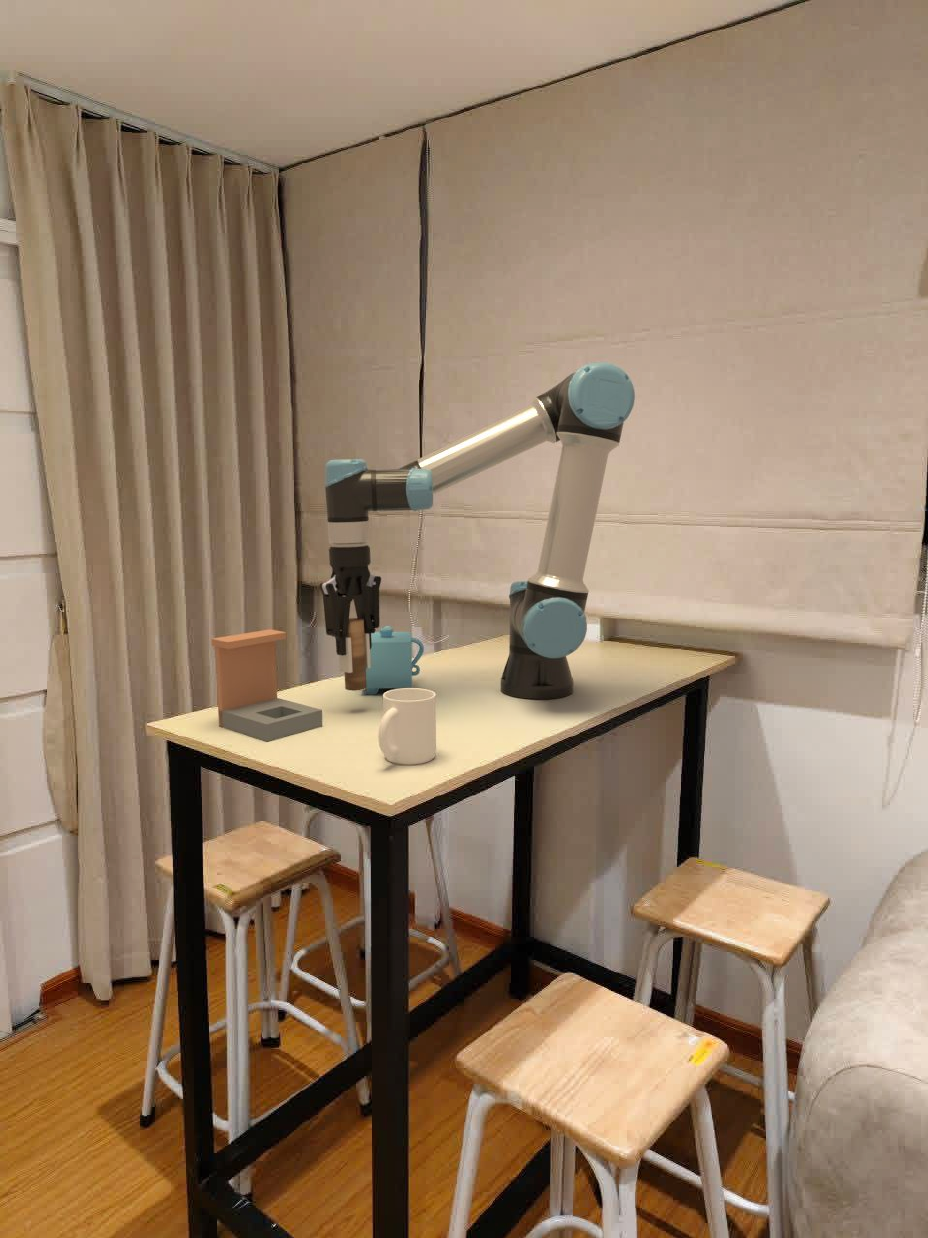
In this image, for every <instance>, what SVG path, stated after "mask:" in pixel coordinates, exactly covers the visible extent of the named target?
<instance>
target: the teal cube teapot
mask: <svg viewBox="0 0 928 1238" xmlns="http://www.w3.org/2000/svg"><path fill="white" fill-rule="evenodd" d="M378 630H379V631H375V633H371V640H372V647H371V649H370V664H371V668H366V685H367V688H366V690H365V692H364V694H367V695H376V694H378V692H379V689H401V688H413V677H416V676H418V675H419V674H420V673H421V672H420V671H421V669H420V667H419V666H420V665H418V664H417V663H418V661H419V660H420V659H421V657H422V656H423V655H424V649H425V647H424V644H423V642H422V641H421V640H420V639H419V638H416V637H412V631H394V628H392V627H391V626H390V625H385V626H384V627H379V628H378ZM412 643H415V644H416V645H418V646H419V650H418V651H417V654H416V655H415V657H414V658H413V656H412V655H413V654H412V649H413V648H412V647H413V646H412ZM414 668H415V669H416V670H415V671H413V669H414Z"/></svg>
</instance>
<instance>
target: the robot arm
mask: <svg viewBox="0 0 928 1238" xmlns="http://www.w3.org/2000/svg"><path fill="white" fill-rule="evenodd" d="M635 395H636V393H635V387H634V385H633V381H632V380H631V378H630V377H629V375H628V374H627V373H626V371H624V370H623V368H621V367H620V366H617V365H615V364H613V363H610V362H603V361H602V362H601V361H600V362H591V363H587V364H585V365H583V366H582V367H580V368H578V369H577V370H576V371H575V372H573V373H571V374H570V375H568V376H566V378H564V379H563V380H562V381H561V382H559V383H558V384H557V385H555V386H554V387H552V388H551V389H549V390H547V391H546V392H544V393H542V394H539V395H538V396H536V397H534V398H532V399H533V400H532V402H531V404H530V405H529V406H527V407H525V408H522V409H520V410H518V411H517V412H516V411H515V412H514V413H512V414H510V415H508V416H506V417H504V418H502V419H500V420H498V421H495V422H493V423H491V424H490V425H487V426H485V427H483V428H480V429H479V430H476V431H474V432H472V433H471V434H468V435H466V436H464V437H462V438H459V439H458V440H455V441H454V442H451V443H449V444H447V445H445V446H443V447H441V448H439V449H437V450H435V451H433V452H430V453H429V454H426V455H425V456H424V455H423V456H422V457H420V458H418V459H417V460H415V461H412V462H410V463H407V464H406V465H403V466H402V467H399V468H396V469H395V468H394V469H392V468H391V469H377V470H376V469H368V466H367V462H366V460H365V459H361V458H359V459H358V458H355V459H354V458H353V459H352V458H351V459H347V458H346V459H343V458H342V459H331V460H328V461H327V462H326V464H325V466H324V467H325V469H324V470H325V472H324V474H325V476H324V477H325V478H324V479H325V481H324V482H325V484H324V489H325V491H324V492H325V500H326V501H325V503H326V517H327V536H328V538H327V539H328V543H329V544H330V545H331V546H329V548H328V559H329V566H330V567H331V575H330V579H329V580H327V581H326V582H320V583H319V585H318V586H319V589H320V592H321V595H322V600H323V603H322V604H323V614H324V625H325V634H326V635H327V636H331V637H333V638H334V639H335V646H336V647H335V648H336V650H335V651H336V655H337V656H338V660H339V661H338V664H339V672H343V673H345V672H347V673H351V672H353V670H352V650H351V638H349V637H347V634H348V624H349V618H350V613H351V612H350V611H351V604H352V603H351V602H352V601H353V603H354V609H355V614H356V618H361V619H364V639H365V662H366V668H371V664H370V649H371V647H372V640H371V633H375V632H377V631H376V629H379V628H380V586H381V582H382V577H381V576H379V575H374V574H371V572H370V570H369V566H370V565H371V561H372V560H371V546H369V545H367V544H368V543H370V539H371V538H370V521H369V520H370V519H369V518H370V517H369V512H390V511H391V512H394V511H396V512H401V511H404V512H405V511H413V512H416V511H424V510H425V511H427V510H430V509H432V507H433V506H434V495H435V494H437V493H440V492H441V491H444V490H445V489H448V488H450V487H452V486H454V485H456V484H459V483H460V482H463V481H466V480H467V479H469V478H472V477H473V476H476V475H478V474H480V473H482V472H484V471H486V470H488V469H491V468H493V467H495V466H497V465H499V464H501V463H504V462H505V461H507V460H509V459H512V458H514V457H516V456H518V455H521V454H522V453H525V452H526V451H529V450H531V449H533V448H535V447H537V446H539V445H542V444H544V443H545V442H549V443H552V444H555V443H558V442H559V441H560V442H561V445H562V448H561V452H560V458H559V461H558V462H559V463H558V467H557V472H556V477H555V481H554V482H555V484H554V488H553V492H552V497H551V503H550V507H549V512H548V513H549V514H548V517H547V523H546V528H545V532H544V533H545V534H544V538H543V543H542V548H541V552H540V553H541V554H540V558H539V563H538V568H537V572H536V573H535V574H533V575H531V576H530V577H529V578H528V579H527V581H524V580H522V581H513V582H512V583H511V584H510V588H509V590H510V591H509V594H508V598H509V652H508V657H507V659H506V662H505V666H504V669H503V673H502V676H501V677H500V691H501V693H503V694H505V695H508V696H511V697H514V698H521V699H528V700H529V699H534V700H535V699H536V700H547V699H548V700H550V699H551V700H552V699H558V698H564V697H567V696H570V695H571V694H572V693H574V678H573V677H572V673H571V668H570V666H569V662H568V658H567V656H569V655H570V654H573V653H574V652H575V651H577V650H578V648H580V646H581V645H582V644H583V642H584V641H585V638H586V635H587V631H588V622H587V617H586V616H587V615H586V613H585V611H586V608H587V607H586V605H587V602H588V596H589V589H588V587H587V586H586V584H585V582H584V580H583V579H584V574H585V571H586V566H587V561H588V555H589V551H590V545H591V542H592V541H591V540H592V536H593V531H594V526H595V523H596V516H597V511H598V507H599V501H600V497H601V493H602V488H603V482H604V477H605V473H606V468H607V463H608V459H609V454H610V452H612V451H613V450H615V448H617V447H619V446H620V441H621V437H622V431H623V427H624V423H625V421H626V420H627V419H628V418H629V416H630V415H631V413H632V411H633V407H634V404H635V400H636V396H635Z"/></svg>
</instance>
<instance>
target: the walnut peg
mask: <svg viewBox="0 0 928 1238" xmlns="http://www.w3.org/2000/svg"><path fill="white" fill-rule="evenodd" d="M347 637H349V638H351V650H352V670H353V672H351V673H347V672H344V687H345V690H346V691H353V692H354V691H355V692H357V691H363V690H365V689H366V688H367V685H366V662H365V639H364V619H361V618H357V617H353V618H350V617H349V624H348V634H347ZM366 690H367V689H366Z"/></svg>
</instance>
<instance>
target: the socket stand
mask: <svg viewBox="0 0 928 1238" xmlns="http://www.w3.org/2000/svg"><path fill="white" fill-rule="evenodd" d="M287 638H288V637H287V632H286V631H281V630H276V629H271V628H270V629H264V630H259V631H251V632H245V633H239V634H233V635H227V636H220V637H214V638H211V646H213V647H214V649H215V671H216V673H215V674H216V689H217V690H216V691H217V712H218V713H217V714H218V715H217V716H218V727H220V728H224V729H226V730H230V731H233V732H235V733H239V734H243V735H245V736H248V737H251V738H255V739H258V740H260V741H264V742H271V741H275V740H278V739H281V738H282V739H283V738H285V737H288V736H293V735H295V734H298V733H303V732H306V731H309V730H314V729H316V728H320V727H321V728H322V727H323V709H321V708H316V707H313V706H310V705H305V704H302V703H298V702H293V701H290V700H287V699H283V698H281V697H280V698H279V697H278V685H277V684H278V683H277V682H278V681H277V658H276V657H277V656H276V655H277V653H276V641H281V640H282V641H283V640H287Z"/></svg>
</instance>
